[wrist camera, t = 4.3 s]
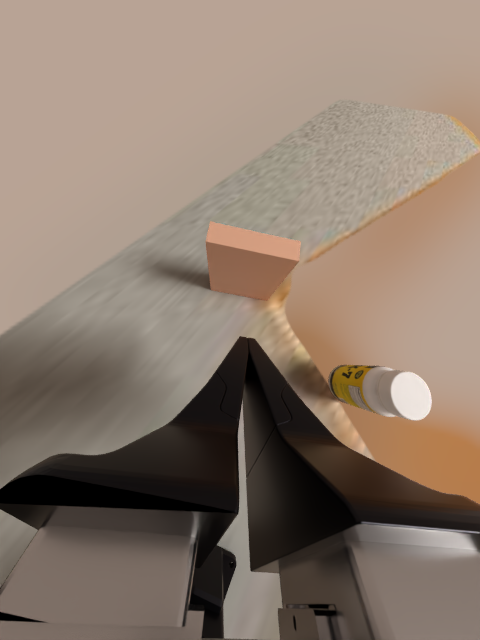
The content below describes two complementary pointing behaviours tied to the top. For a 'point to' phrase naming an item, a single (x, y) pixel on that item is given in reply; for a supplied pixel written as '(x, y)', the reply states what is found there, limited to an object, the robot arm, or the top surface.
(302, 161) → the top surface
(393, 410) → the supplement bottle
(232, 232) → the tile
